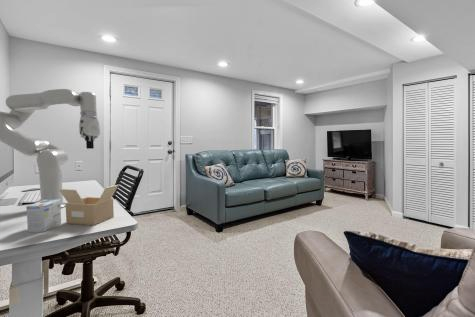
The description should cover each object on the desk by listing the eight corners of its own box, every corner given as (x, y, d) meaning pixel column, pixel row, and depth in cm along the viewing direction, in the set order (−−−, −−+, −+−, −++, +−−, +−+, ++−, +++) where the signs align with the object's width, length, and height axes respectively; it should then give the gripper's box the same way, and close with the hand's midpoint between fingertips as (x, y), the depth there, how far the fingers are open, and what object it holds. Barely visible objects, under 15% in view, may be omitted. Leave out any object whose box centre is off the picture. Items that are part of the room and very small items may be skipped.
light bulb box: (45, 223, 106) (44, 199, 105) (62, 223, 106) (61, 199, 106) (26, 232, 95) (25, 205, 95) (45, 232, 96) (43, 205, 95)
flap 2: (105, 187, 103) (106, 188, 103) (118, 184, 111) (118, 184, 111) (97, 202, 104) (97, 203, 104) (110, 198, 112) (110, 198, 112)
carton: (65, 223, 106) (64, 203, 105) (88, 215, 118) (87, 196, 118) (94, 225, 103) (93, 204, 102) (114, 216, 115) (113, 198, 115)
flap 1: (68, 202, 105) (68, 203, 104) (59, 189, 100) (58, 189, 100) (84, 203, 103) (84, 204, 103) (75, 189, 98) (75, 190, 98)
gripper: (83, 113, 125) (85, 148, 127) (104, 116, 140) (105, 148, 141) (71, 113, 127) (72, 148, 128) (93, 116, 141) (94, 148, 143)
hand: (90, 148), depth 135 cm, fingers closed
